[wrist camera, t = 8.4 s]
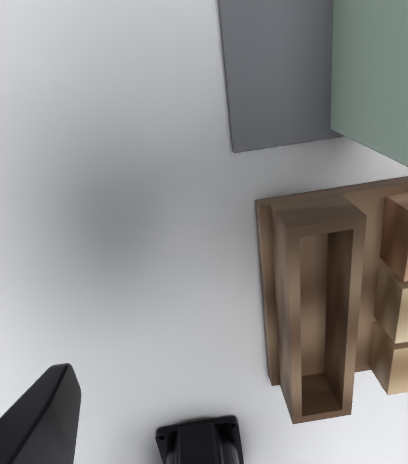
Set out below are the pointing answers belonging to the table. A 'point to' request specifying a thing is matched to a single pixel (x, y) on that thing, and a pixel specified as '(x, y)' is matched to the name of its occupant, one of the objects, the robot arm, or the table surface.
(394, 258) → the offcut
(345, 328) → the rack
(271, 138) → the mat
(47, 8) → the table surface
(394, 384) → the offcut
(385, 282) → the offcut
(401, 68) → the green rectangular block
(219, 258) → the table surface
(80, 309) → the table surface
